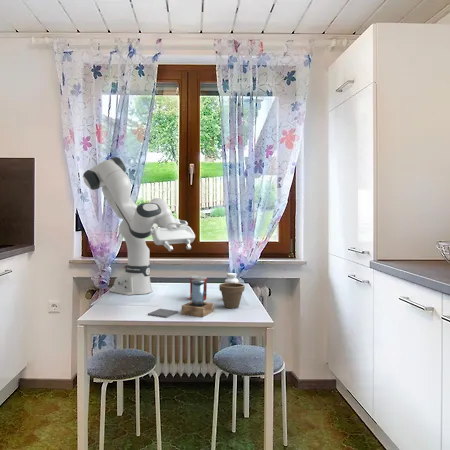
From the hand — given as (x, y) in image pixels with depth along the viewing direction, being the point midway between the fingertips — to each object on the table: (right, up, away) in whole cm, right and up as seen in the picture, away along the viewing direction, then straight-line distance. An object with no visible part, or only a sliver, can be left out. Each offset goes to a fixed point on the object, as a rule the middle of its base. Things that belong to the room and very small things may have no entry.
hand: (180, 249), depth 177 cm
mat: (-6, -26, -10) cm, 29 cm away
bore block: (+8, -26, -7) cm, 29 cm away
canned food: (+7, -25, +17) cm, 31 cm away
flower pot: (+23, -26, +4) cm, 35 cm away
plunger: (+8, -26, -7) cm, 29 cm away
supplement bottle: (+23, -26, +17) cm, 38 cm away
